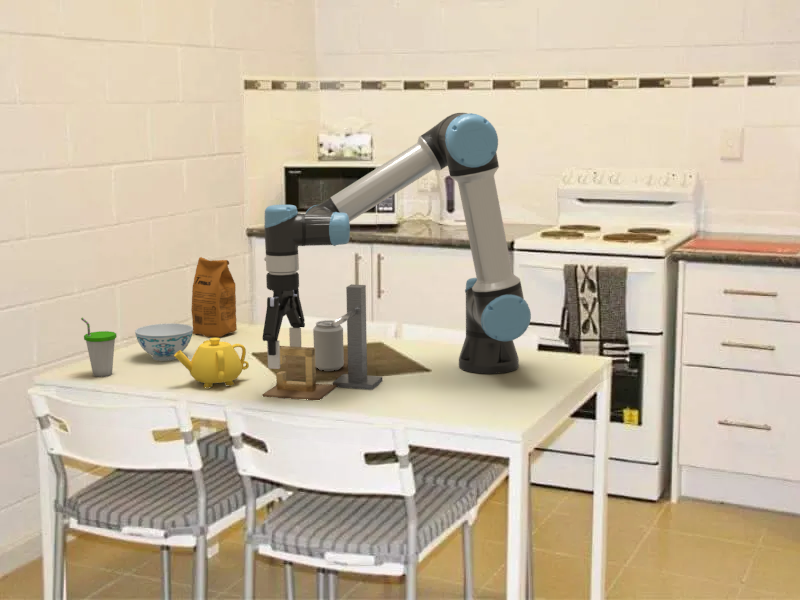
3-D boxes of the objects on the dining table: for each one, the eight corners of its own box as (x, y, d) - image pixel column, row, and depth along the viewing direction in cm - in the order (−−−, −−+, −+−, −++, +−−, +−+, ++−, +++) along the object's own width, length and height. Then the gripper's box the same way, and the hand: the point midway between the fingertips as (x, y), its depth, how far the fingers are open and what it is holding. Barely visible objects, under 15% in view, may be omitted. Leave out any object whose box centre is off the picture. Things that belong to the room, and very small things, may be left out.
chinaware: (126, 363, 301) (124, 334, 300) (152, 350, 315) (150, 322, 314) (179, 366, 298) (178, 336, 296) (203, 352, 312) (201, 324, 310)
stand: (382, 381, 281) (381, 283, 276) (356, 403, 262) (354, 299, 257) (343, 378, 283) (341, 282, 279) (315, 400, 265) (312, 297, 260)
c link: (316, 389, 272) (315, 347, 270) (312, 391, 270) (311, 350, 268) (280, 386, 274) (279, 345, 272) (276, 389, 272) (275, 348, 270)
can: (339, 372, 289) (338, 325, 287) (310, 371, 291) (309, 324, 289) (347, 365, 297) (346, 319, 294) (318, 364, 298) (317, 318, 296)
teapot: (207, 373, 290) (205, 329, 288) (254, 378, 285) (252, 334, 283) (173, 387, 277) (171, 342, 275) (222, 393, 272) (220, 347, 270)
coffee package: (211, 327, 342) (208, 254, 338) (242, 333, 335) (239, 257, 331) (186, 334, 335) (183, 258, 330) (217, 339, 327) (214, 262, 323)
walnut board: (336, 387, 276) (336, 384, 275) (319, 400, 264) (319, 398, 264) (281, 383, 279) (281, 381, 279) (262, 396, 268) (262, 394, 268)
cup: (124, 371, 292) (120, 313, 289) (108, 379, 285) (105, 320, 282) (96, 370, 294) (93, 312, 291) (80, 377, 287) (76, 318, 284)
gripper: (287, 263, 280) (290, 348, 284) (245, 280, 257) (249, 373, 261) (316, 264, 278) (318, 349, 282) (277, 282, 255) (280, 375, 259)
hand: (285, 361), depth 271 cm, fingers open, 13 cm apart
